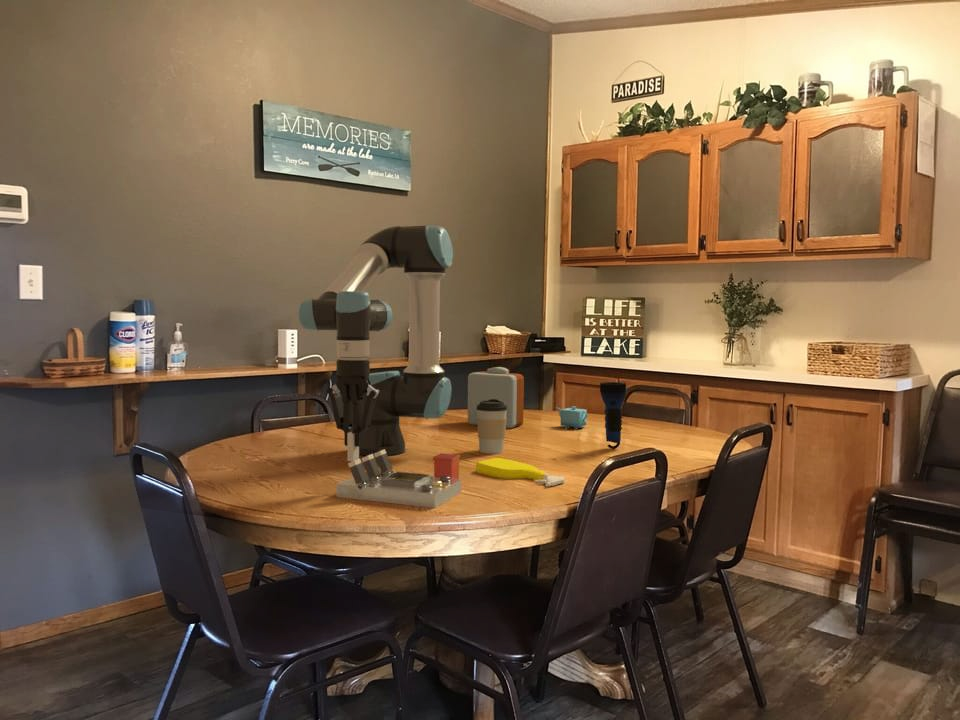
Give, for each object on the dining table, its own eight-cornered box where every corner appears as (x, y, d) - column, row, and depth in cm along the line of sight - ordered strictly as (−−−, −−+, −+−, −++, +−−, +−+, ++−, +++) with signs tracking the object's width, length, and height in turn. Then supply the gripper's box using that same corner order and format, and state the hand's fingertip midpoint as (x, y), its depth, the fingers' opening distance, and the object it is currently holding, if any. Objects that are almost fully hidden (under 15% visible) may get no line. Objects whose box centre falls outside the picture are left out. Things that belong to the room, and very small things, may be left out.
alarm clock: (524, 426, 276) (524, 368, 274) (511, 429, 268) (512, 369, 267) (479, 421, 285) (480, 365, 284) (466, 424, 278) (467, 366, 276)
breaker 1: (356, 484, 173) (347, 463, 173) (361, 482, 175) (353, 461, 175) (362, 481, 172) (354, 460, 172) (368, 479, 174) (359, 458, 175)
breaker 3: (381, 473, 184) (373, 453, 184) (386, 471, 186) (378, 451, 186) (388, 470, 183) (380, 450, 184) (392, 468, 185) (384, 449, 186)
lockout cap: (432, 486, 186) (432, 457, 185) (441, 481, 190) (441, 453, 190) (452, 487, 184) (452, 458, 183) (460, 483, 189) (460, 454, 188)
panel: (336, 497, 174) (336, 478, 174) (368, 482, 188) (368, 465, 188) (434, 508, 166) (434, 488, 166) (461, 492, 180) (461, 474, 180)
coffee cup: (503, 455, 223) (504, 403, 222) (473, 453, 225) (473, 401, 224) (509, 449, 232) (509, 399, 231) (479, 447, 234) (479, 398, 233)
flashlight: (593, 447, 236) (594, 381, 235) (614, 445, 240) (615, 380, 238) (609, 452, 229) (610, 384, 227) (630, 450, 233) (632, 383, 231)
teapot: (551, 427, 274) (552, 406, 273) (558, 425, 279) (559, 404, 278) (583, 430, 268) (583, 408, 267) (590, 428, 273) (590, 406, 272)
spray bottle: (499, 467, 209) (573, 484, 192) (471, 473, 201) (545, 492, 184) (500, 456, 208) (573, 472, 191) (471, 462, 201) (545, 479, 184)
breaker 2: (369, 478, 178) (361, 458, 179) (374, 476, 180) (366, 456, 181) (375, 476, 178) (367, 455, 178) (380, 473, 180) (372, 453, 180)
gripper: (319, 358, 178) (320, 460, 179) (370, 360, 173) (370, 465, 175) (337, 356, 185) (337, 455, 186) (386, 358, 180) (385, 459, 182)
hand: (353, 460), depth 181 cm, fingers closed
